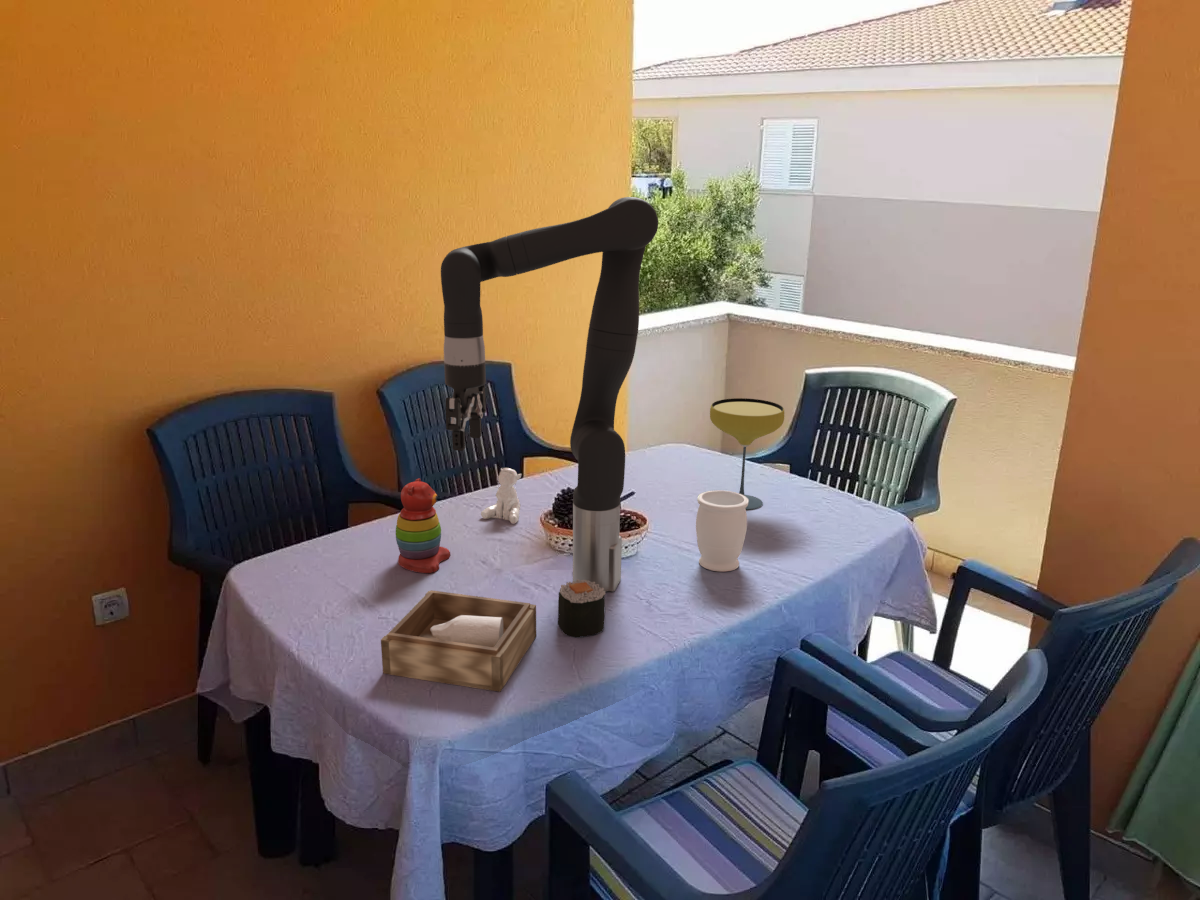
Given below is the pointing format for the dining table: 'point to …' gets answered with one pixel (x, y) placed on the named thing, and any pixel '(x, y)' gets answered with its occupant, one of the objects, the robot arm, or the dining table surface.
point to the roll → (470, 630)
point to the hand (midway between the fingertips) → (467, 443)
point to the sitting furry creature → (505, 498)
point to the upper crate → (450, 606)
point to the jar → (721, 529)
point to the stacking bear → (419, 529)
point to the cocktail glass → (747, 426)
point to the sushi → (581, 608)
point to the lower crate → (460, 659)
